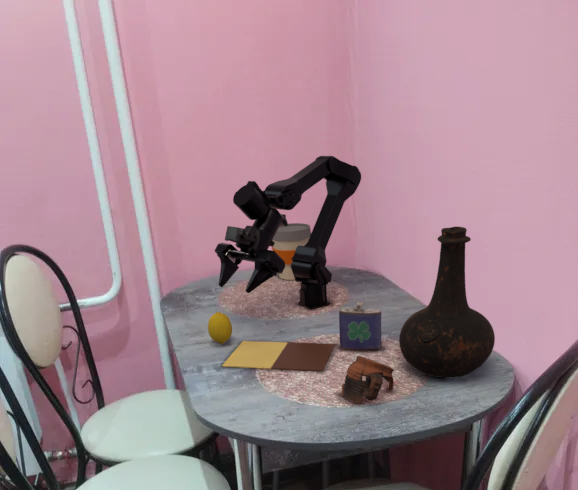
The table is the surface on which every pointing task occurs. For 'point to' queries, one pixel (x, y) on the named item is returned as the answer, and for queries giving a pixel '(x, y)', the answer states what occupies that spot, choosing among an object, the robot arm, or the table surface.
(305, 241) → the reusable coffee cup
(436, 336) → the glass bottle
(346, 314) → the flask
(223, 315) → the lemon
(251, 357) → the board
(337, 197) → the robot arm
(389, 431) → the table surface
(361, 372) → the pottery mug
